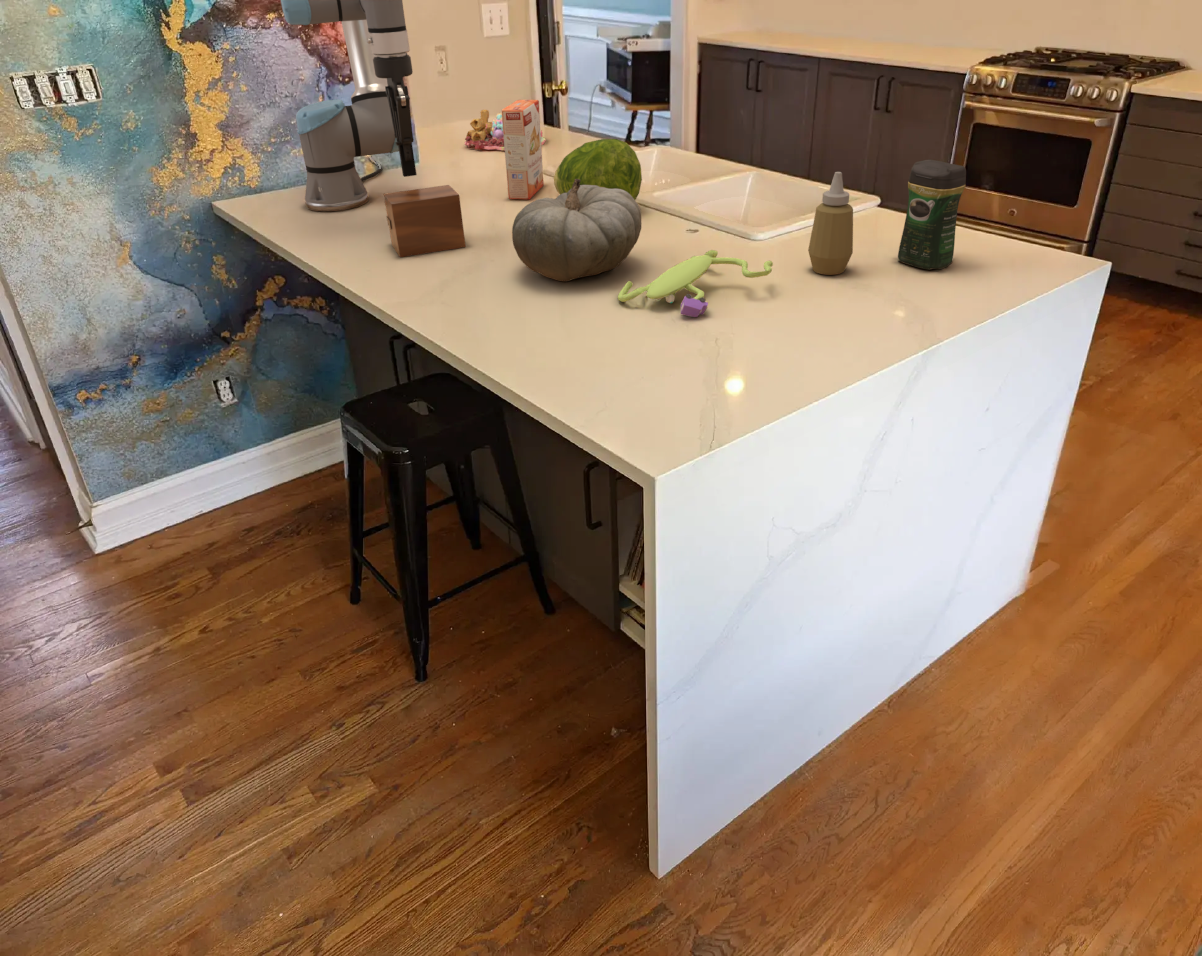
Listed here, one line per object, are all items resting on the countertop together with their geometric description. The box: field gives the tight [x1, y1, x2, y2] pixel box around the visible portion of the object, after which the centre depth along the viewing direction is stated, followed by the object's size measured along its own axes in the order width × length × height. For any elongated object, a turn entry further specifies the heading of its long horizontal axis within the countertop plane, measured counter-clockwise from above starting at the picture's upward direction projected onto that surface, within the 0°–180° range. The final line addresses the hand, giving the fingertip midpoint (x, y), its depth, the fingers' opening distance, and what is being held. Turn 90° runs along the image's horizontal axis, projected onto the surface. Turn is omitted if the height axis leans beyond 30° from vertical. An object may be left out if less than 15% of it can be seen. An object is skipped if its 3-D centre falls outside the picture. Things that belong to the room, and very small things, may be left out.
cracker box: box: [501, 99, 545, 201], centre depth 217 cm, size 14×6×21 cm, turn 168°
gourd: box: [511, 179, 642, 282], centre depth 169 cm, size 25×25×17 cm
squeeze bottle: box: [807, 171, 854, 276], centre depth 162 cm, size 8×8×18 cm
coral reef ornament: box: [464, 109, 546, 151], centre depth 271 cm, size 25×24×9 cm
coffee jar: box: [897, 159, 967, 270], centre depth 163 cm, size 10×8×19 cm
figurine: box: [617, 249, 774, 318], centre depth 158 cm, size 18×27×6 cm
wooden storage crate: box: [383, 184, 466, 258], centre depth 187 cm, size 9×14×11 cm, turn 112°
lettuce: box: [553, 138, 643, 201], centre depth 204 cm, size 17×23×16 cm
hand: (409, 175), depth 191 cm, fingers closed
